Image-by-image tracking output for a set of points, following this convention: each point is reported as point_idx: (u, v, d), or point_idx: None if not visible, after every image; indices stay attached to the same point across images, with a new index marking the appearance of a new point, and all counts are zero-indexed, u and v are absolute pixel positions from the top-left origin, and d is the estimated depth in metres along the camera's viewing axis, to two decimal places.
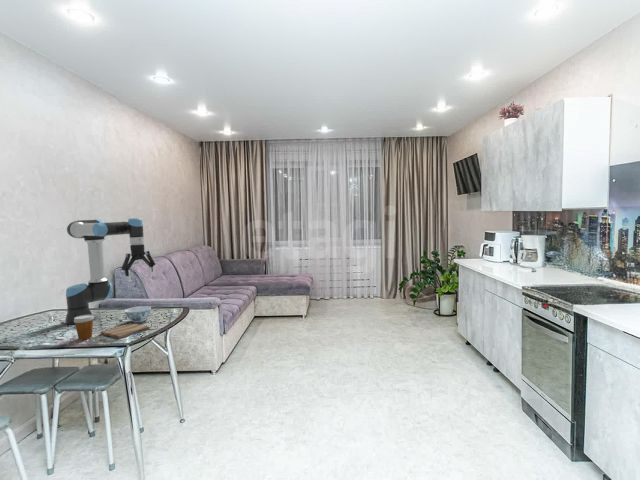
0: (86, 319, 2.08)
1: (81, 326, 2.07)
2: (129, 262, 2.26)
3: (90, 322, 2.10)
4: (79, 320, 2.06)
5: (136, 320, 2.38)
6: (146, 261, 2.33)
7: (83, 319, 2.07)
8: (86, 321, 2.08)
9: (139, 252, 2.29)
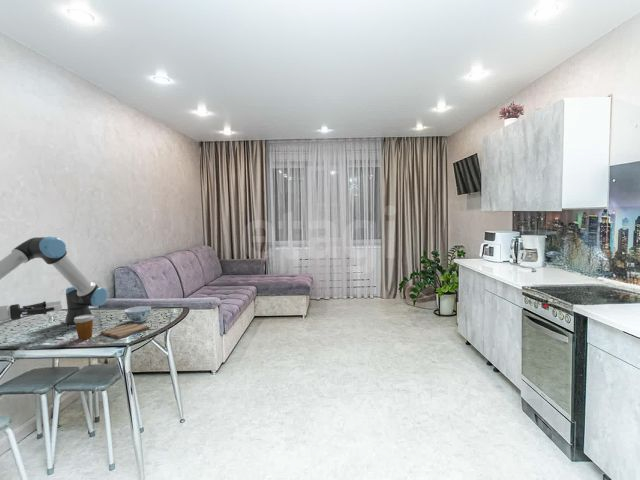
0: (86, 319, 2.08)
1: (81, 326, 2.07)
2: None
3: (90, 322, 2.10)
4: (79, 320, 2.06)
5: (136, 320, 2.38)
6: None
7: (83, 319, 2.07)
8: (86, 321, 2.08)
9: None
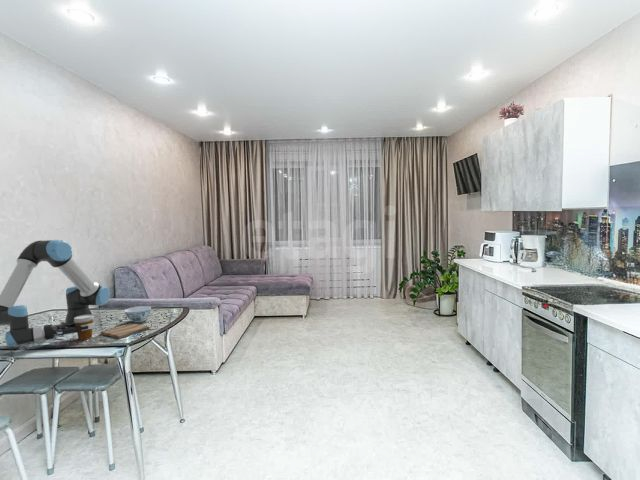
0: (86, 319, 2.08)
1: None
2: None
3: (90, 322, 2.10)
4: (79, 320, 2.06)
5: (136, 320, 2.38)
6: None
7: (83, 319, 2.07)
8: (86, 321, 2.08)
9: None
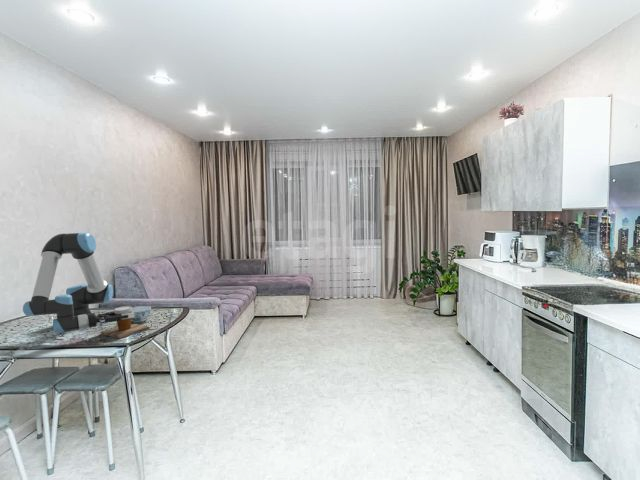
0: (126, 311, 2.17)
1: None
2: (109, 314, 2.19)
3: None
4: (120, 311, 2.15)
5: (136, 320, 2.38)
6: None
7: (124, 310, 2.16)
8: (126, 312, 2.17)
9: None
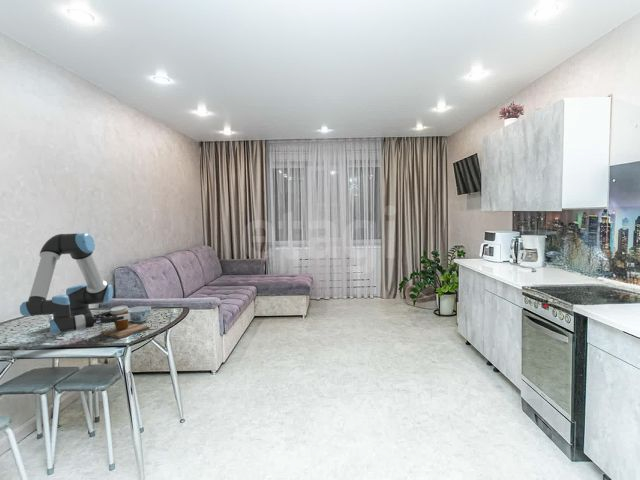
0: (122, 310, 2.17)
1: None
2: None
3: (126, 313, 2.19)
4: (116, 312, 2.15)
5: (136, 320, 2.38)
6: None
7: (120, 310, 2.16)
8: (122, 312, 2.17)
9: None
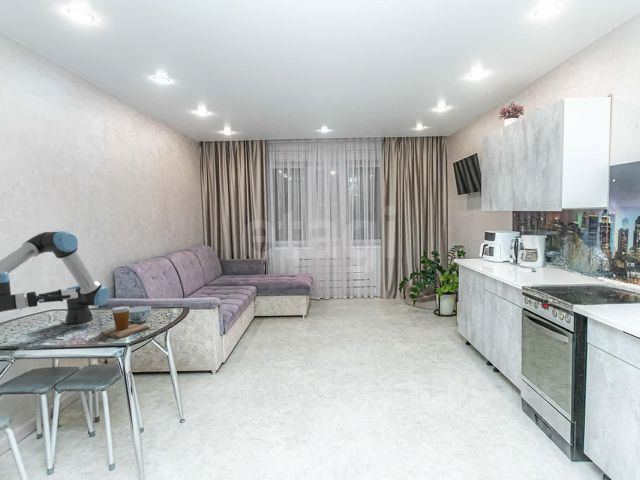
0: (124, 310, 2.18)
1: (119, 316, 2.17)
2: None
3: (127, 313, 2.21)
4: (117, 310, 2.17)
5: (136, 320, 2.38)
6: None
7: (121, 309, 2.18)
8: (124, 311, 2.18)
9: None
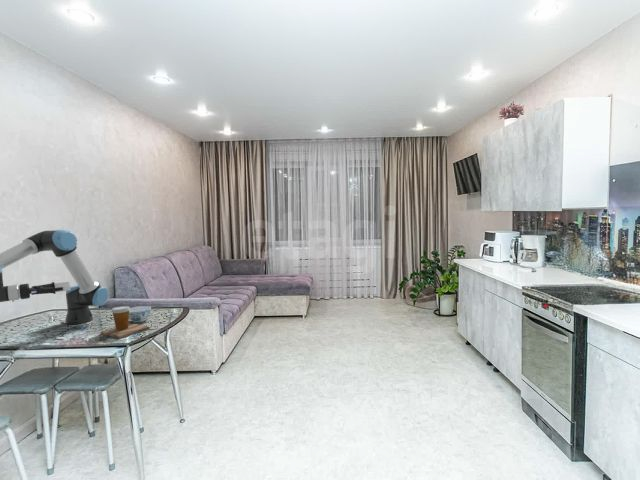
0: (124, 310, 2.18)
1: (119, 316, 2.17)
2: None
3: (127, 313, 2.21)
4: (117, 310, 2.17)
5: (136, 320, 2.38)
6: None
7: (121, 309, 2.18)
8: (124, 311, 2.18)
9: None
